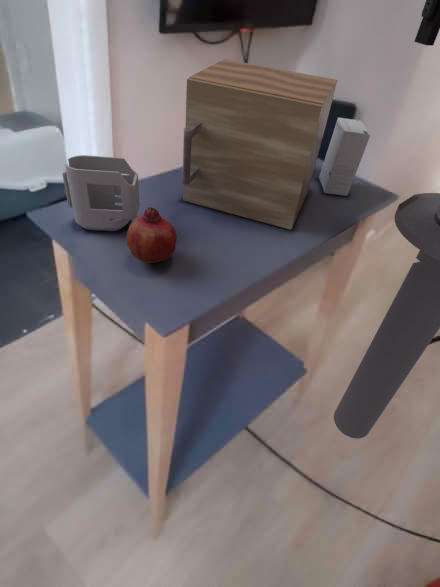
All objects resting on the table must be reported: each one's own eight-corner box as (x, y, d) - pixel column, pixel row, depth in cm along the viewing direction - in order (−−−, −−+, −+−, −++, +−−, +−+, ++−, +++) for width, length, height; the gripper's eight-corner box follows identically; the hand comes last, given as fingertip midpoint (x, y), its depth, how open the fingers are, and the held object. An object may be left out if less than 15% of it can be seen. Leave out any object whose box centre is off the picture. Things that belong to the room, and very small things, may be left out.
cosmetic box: (318, 178, 97) (335, 116, 87) (342, 180, 98) (361, 119, 88) (324, 194, 91) (343, 129, 81) (349, 197, 91) (372, 132, 82)
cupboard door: (285, 243, 74) (316, 115, 59) (172, 211, 79) (173, 85, 64) (292, 227, 79) (322, 104, 63) (184, 198, 84) (188, 77, 68)
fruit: (161, 241, 71) (160, 191, 65) (185, 264, 67) (187, 213, 60) (120, 254, 67) (115, 202, 61) (143, 280, 63) (140, 227, 56)
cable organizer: (137, 235, 72) (133, 173, 64) (68, 231, 71) (55, 168, 63) (141, 216, 77) (138, 156, 69) (76, 212, 76) (66, 151, 68)
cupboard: (292, 227, 79) (323, 103, 63) (185, 199, 84) (189, 76, 68) (308, 190, 92) (337, 79, 76) (215, 167, 97) (224, 58, 81)
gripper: (521, -173, 51) (438, 40, 67) (445, -195, 47) (375, 37, 63) (576, -183, 46) (472, 50, 62) (496, -209, 42) (406, 47, 58)
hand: (423, 43), depth 62 cm, fingers closed
